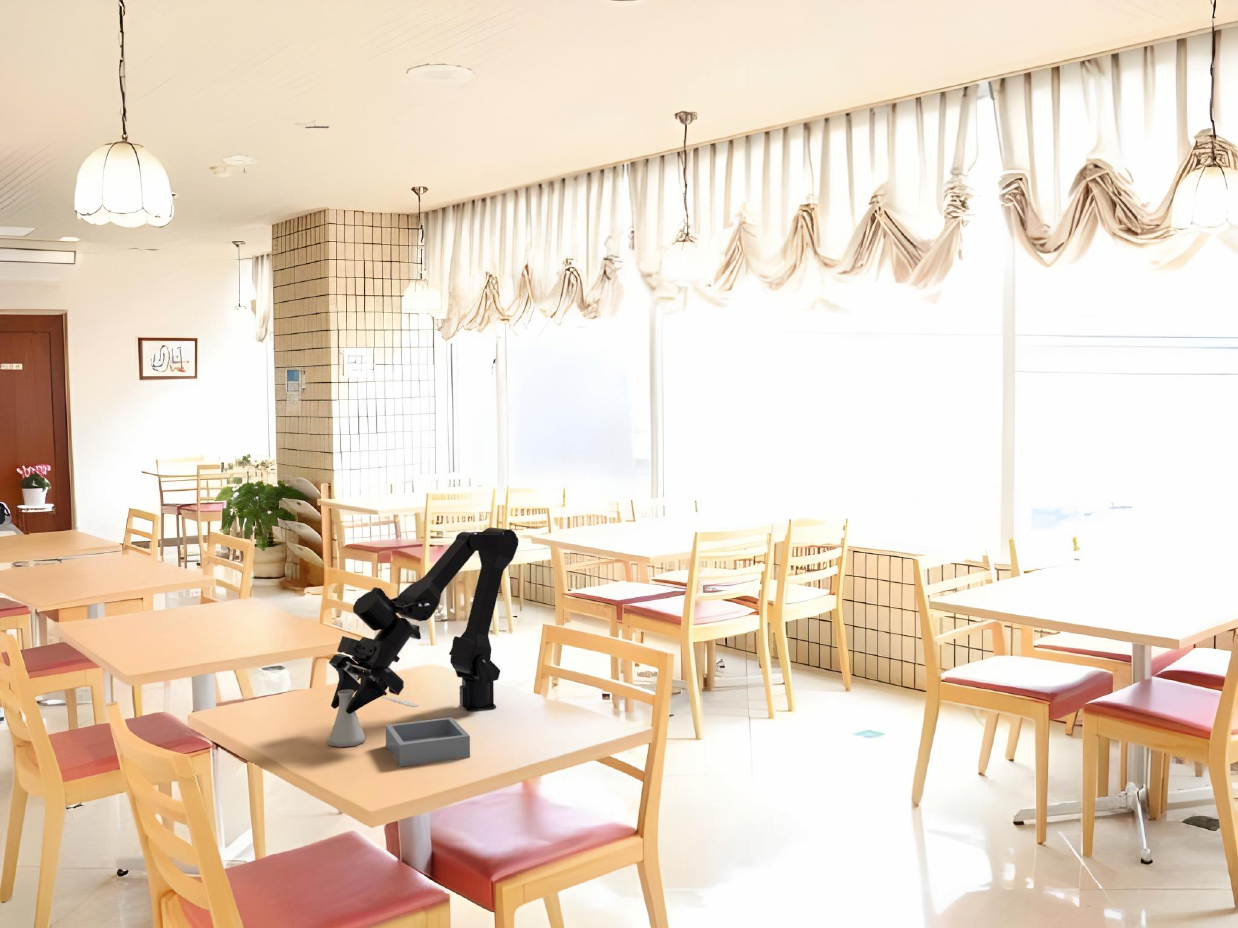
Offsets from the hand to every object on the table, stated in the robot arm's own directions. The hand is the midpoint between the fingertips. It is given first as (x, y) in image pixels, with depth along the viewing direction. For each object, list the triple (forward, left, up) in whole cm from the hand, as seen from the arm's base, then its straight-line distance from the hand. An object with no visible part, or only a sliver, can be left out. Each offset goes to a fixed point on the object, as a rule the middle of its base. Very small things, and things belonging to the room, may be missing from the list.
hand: (340, 709), depth 203 cm
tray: (-14, +11, -7) cm, 19 cm away
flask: (-1, -1, -7) cm, 7 cm away
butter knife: (-13, -31, -7) cm, 35 cm away
